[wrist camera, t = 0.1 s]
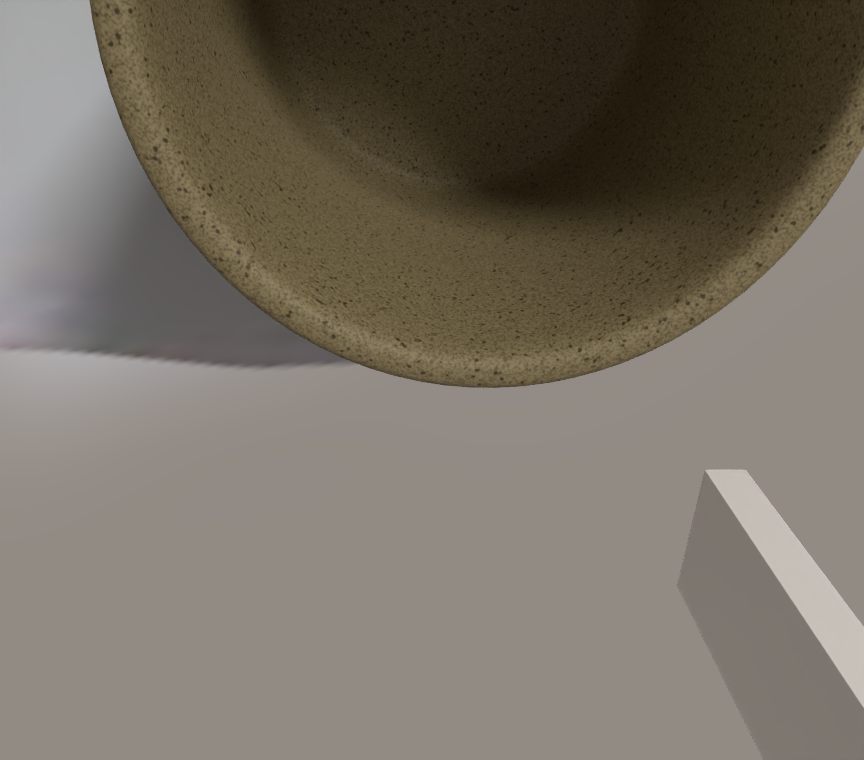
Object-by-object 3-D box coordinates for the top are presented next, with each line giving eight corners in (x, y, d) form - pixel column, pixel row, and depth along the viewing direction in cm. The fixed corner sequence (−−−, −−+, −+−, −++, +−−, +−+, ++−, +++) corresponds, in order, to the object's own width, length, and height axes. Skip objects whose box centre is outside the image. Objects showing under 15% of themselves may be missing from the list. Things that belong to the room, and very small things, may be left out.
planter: (384, 274, 41) (390, 496, 23) (143, -82, 33) (-126, -152, 15) (713, 74, 37) (1014, 159, 20) (533, -381, 29) (768, -926, 12)
